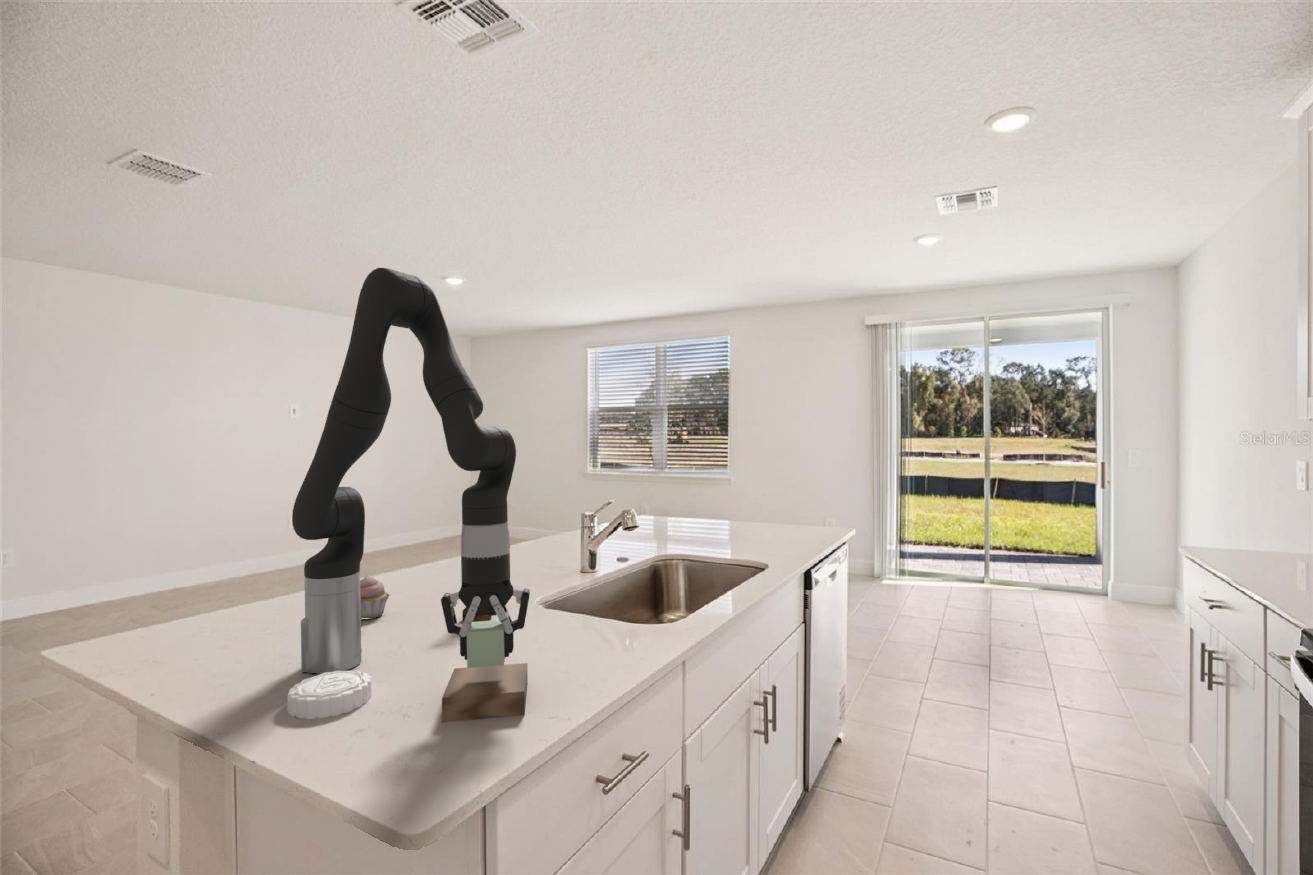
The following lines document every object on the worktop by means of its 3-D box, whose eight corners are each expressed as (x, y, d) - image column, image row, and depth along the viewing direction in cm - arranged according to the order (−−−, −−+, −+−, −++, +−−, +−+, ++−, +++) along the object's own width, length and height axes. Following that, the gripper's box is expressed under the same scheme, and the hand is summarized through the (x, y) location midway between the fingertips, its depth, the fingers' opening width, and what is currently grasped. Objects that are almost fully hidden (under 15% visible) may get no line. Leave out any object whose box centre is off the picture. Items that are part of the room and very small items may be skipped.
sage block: (467, 668, 96) (466, 632, 96) (471, 655, 101) (471, 622, 101) (503, 665, 97) (503, 630, 97) (506, 653, 102) (505, 619, 102)
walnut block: (442, 724, 92) (441, 698, 92) (454, 692, 104) (454, 668, 104) (524, 717, 94) (524, 691, 94) (527, 686, 106) (527, 663, 106)
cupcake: (376, 608, 154) (375, 568, 154) (397, 614, 149) (397, 573, 149) (338, 618, 146) (338, 576, 146) (359, 624, 141) (359, 581, 141)
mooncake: (365, 714, 96) (365, 691, 96) (277, 725, 92) (277, 701, 92) (377, 684, 107) (376, 664, 107) (299, 693, 104) (298, 672, 104)
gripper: (434, 557, 94) (436, 669, 94) (530, 553, 96) (532, 661, 96) (442, 549, 101) (444, 652, 101) (532, 545, 104) (533, 645, 104)
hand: (487, 656), depth 99 cm, fingers closed on sage block, 5 cm apart
